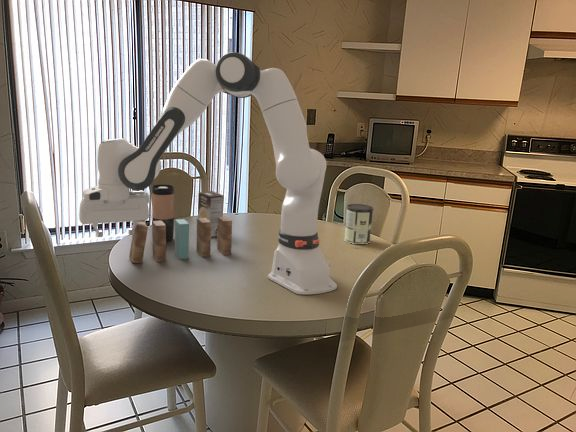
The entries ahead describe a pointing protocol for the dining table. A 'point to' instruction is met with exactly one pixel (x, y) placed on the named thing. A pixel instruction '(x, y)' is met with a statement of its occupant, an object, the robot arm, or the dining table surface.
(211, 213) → the coffee box
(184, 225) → the domino
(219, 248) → the domino
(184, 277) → the dining table surface
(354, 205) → the coffee can
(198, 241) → the domino
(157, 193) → the travel mug
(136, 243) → the domino far
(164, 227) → the domino
